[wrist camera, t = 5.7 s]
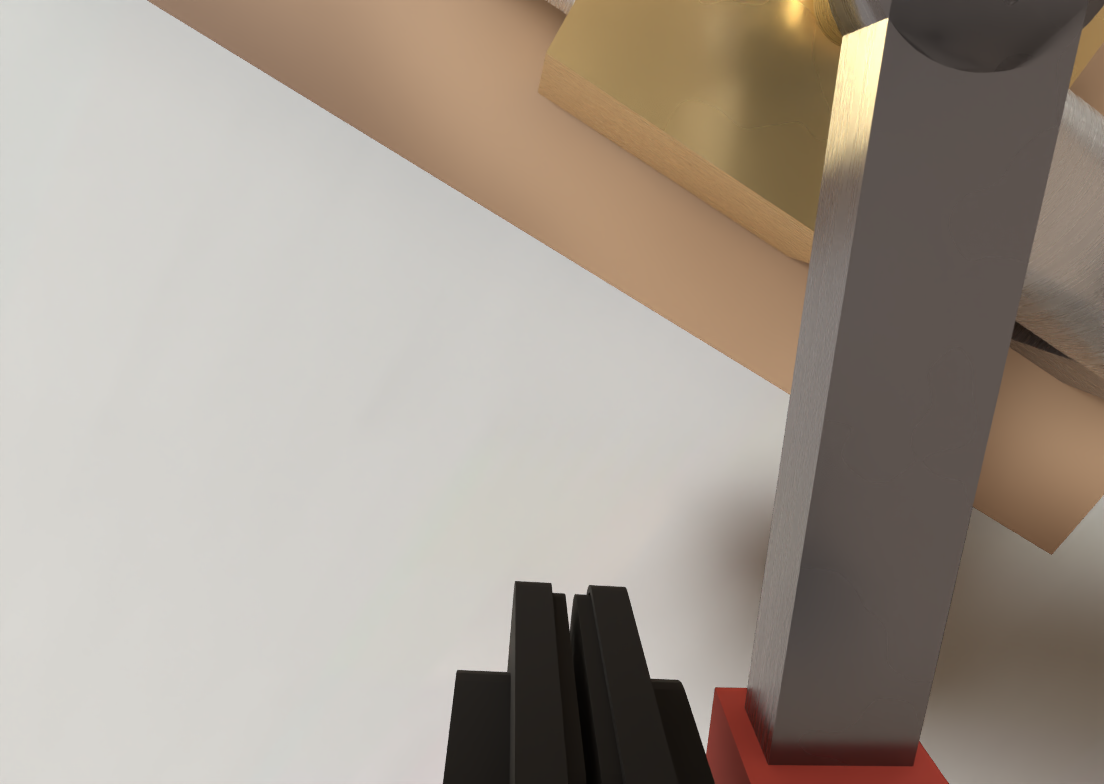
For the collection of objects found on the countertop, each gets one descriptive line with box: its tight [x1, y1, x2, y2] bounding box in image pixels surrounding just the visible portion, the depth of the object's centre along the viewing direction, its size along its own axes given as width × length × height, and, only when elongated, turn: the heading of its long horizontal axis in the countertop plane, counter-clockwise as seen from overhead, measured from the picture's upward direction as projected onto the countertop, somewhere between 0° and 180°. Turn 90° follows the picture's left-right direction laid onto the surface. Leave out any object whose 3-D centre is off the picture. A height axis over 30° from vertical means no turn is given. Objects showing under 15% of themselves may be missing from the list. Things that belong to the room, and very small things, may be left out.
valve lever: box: [706, 0, 1104, 784], centre depth 9 cm, size 15×2×2 cm, turn 177°
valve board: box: [147, 0, 1104, 555], centre depth 12 cm, size 10×26×9 cm, turn 59°
